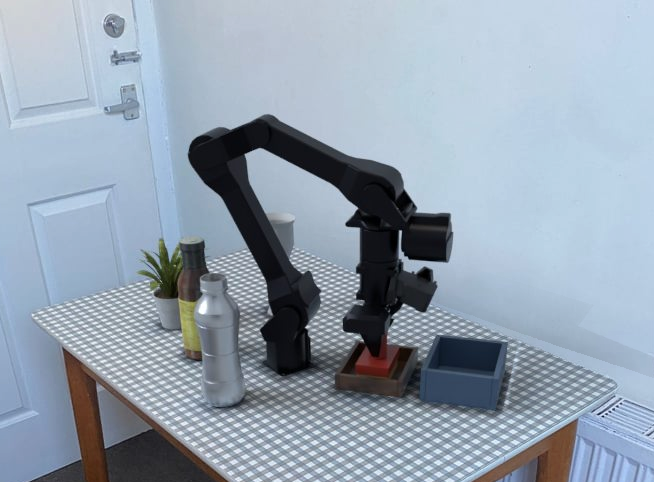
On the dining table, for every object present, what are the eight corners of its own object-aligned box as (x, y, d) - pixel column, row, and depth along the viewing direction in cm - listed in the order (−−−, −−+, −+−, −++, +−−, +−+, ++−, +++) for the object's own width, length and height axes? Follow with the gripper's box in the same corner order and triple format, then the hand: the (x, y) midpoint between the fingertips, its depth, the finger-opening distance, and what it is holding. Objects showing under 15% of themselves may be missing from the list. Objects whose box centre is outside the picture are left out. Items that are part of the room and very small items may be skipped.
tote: (419, 403, 117) (420, 369, 115) (434, 365, 128) (436, 334, 125) (495, 413, 114) (498, 379, 111) (504, 373, 125) (508, 341, 122)
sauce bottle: (215, 362, 131) (203, 248, 122) (179, 360, 133) (165, 246, 123) (226, 345, 137) (215, 234, 127) (192, 343, 138) (179, 233, 128)
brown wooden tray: (334, 391, 121) (334, 374, 120) (356, 356, 132) (356, 340, 130) (401, 400, 118) (401, 382, 117) (417, 363, 129) (418, 347, 127)
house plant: (192, 347, 137) (182, 257, 129) (122, 338, 141) (108, 250, 133) (225, 315, 148) (218, 230, 140) (160, 307, 153) (149, 225, 144)
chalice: (306, 308, 150) (303, 215, 141) (286, 321, 145) (282, 226, 136) (274, 301, 153) (269, 210, 144) (254, 314, 148) (247, 220, 139)
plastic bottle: (203, 392, 123) (189, 270, 113) (246, 389, 123) (236, 267, 113) (202, 414, 117) (187, 287, 107) (247, 410, 117) (237, 284, 107)
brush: (388, 387, 121) (389, 344, 117) (355, 383, 122) (355, 340, 119) (399, 365, 127) (400, 323, 123) (367, 362, 129) (368, 320, 125)
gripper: (421, 284, 105) (416, 386, 113) (445, 240, 120) (440, 333, 128) (341, 277, 108) (342, 377, 116) (374, 235, 124) (373, 326, 131)
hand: (377, 352), depth 123 cm, fingers closed on brush, 3 cm apart
